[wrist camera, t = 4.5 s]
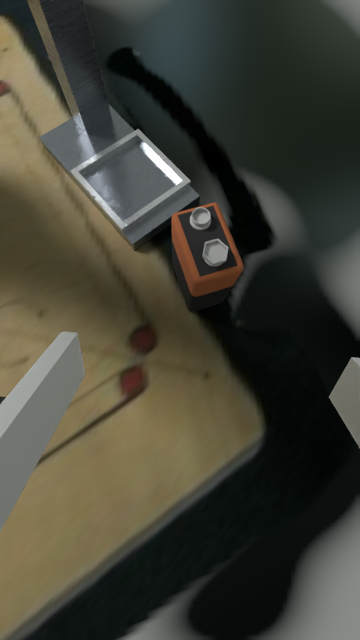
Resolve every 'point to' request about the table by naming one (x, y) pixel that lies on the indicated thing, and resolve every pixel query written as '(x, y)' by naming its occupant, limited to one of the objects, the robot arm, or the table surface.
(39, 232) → the table surface
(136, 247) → the arbor press
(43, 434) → the robot arm
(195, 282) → the battery
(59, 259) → the table surface
